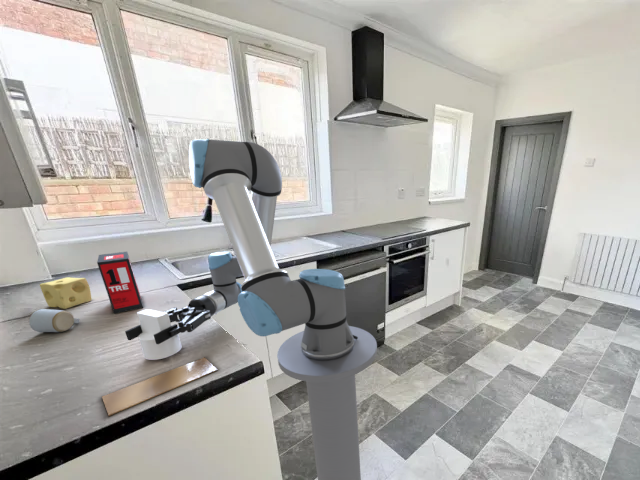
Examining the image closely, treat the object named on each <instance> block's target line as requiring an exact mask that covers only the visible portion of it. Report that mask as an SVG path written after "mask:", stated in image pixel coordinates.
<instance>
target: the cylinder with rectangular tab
mask: <svg viewBox="0 0 640 480" xmlns="http://www.w3.org/2000/svg"><path fill="white" fill-rule="evenodd" d="M136 315H137V316H136V317H137V319H138V322H139V325H141V329H142V332H143V333H141V334H140V335H139V336H138V337H137V338H138V342H139V344H140V348H141V352H142V355H143V358H144V359H146V360H149V361H157V360H161V359H162V360H163V359H165V358H169V357H171V356H173V355H175V354H177V353H178V352H180V351H181V350H182V347H183V346H182V342H181V338H180V335H179V334H180V333H179V334H177V335H175V336H173V337H171V338H169V339H167V340H166V341H164V342H162V343H160V344H156V342H155V338H154V334H156V333H158V332H160V331H162V330H164V329H166V328H168V327H170V326H172V322H170V318H169V315H168V313H165V311H160V310H157V309H156V310H155V309H151V308H146V309H143V310H140V311H137V312H136Z"/></svg>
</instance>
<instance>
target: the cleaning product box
mask: <svg viewBox="0 0 640 480" xmlns="http://www.w3.org/2000/svg"><path fill="white" fill-rule="evenodd" d="M96 263H97V267H98V270H99V273H100V276H101V279H102V282H103V285H104V287H105V291H106V293H107V297H108V299H109V302H110V305H111V309H112V311H113V314H118V313H123V312H128V311H134V310H138V309H142V308H144V305H143V301H142V296H141V293H140V290H139V286H138V282H137V279H136V277H135V273H134V270H133V266H132V263H131V260H130V256H129V253H128V251H121V252H120V251H119V252H112V253H103V254H98V257H97V260H96Z"/></svg>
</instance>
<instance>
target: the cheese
mask: <svg viewBox="0 0 640 480" xmlns="http://www.w3.org/2000/svg"><path fill="white" fill-rule="evenodd" d="M39 287H40V290H41V292H42V295H43V298H44V300H45V302H46V304H47V306H48V308H59V309H62V310H66V309H70V308H72V307H74V306H78V305H82V304H85V303H88V302H92V300H93V299H92V291H91V286H90V284H89V282H88V281H87V279H86V277H69V276H68V277H62V278H59V279H55V280H51V281H48V282H47V281H46V282H43V283H40V284H39Z"/></svg>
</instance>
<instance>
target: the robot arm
mask: <svg viewBox="0 0 640 480" xmlns="http://www.w3.org/2000/svg"><path fill="white" fill-rule="evenodd" d="M188 148H189V149H188V163H189V173H190V178H191V181H192V184H193V187H195V188H197V189H203V191H204V194H205V195H206V196H207V197H208V199H211V200H213V201H214V202H215V205H216V207H217V210H218V213H219V215H220V219H221V221H222V223H223V226H224V228H225V232H226V234H227V236H228V237H227V238H228V239H229V242H230V244H231V247H232V249H233V252H234V255H233V254H232V252H229V251H216V252H212V253H210V254H209V255H208V256H207V261H208V269H209V273H210V276H211V281H212V286H213V290H211V291H210V290H209V291H208V292H206V293H203V294H202V295H200V296H199V295H198V296H197V297H195V298H193V299H191V300H190V301H189V303H188V304H187V306H184V307H182V308H180V309H178V307H177V306H176V307H175V306H174V307H172V308H170V309H168V310H165V311H164V312H165V313H168V315H169V318H170V322H171V323H174V322H175V324H171V326H170V327H168V328H166V329H164V330H162V331H160V332H158V333H156V334H154V338H155V342H156V344H160V343H162V342H164V341H166V340H167V339H169V338H171V337H173V336H175V335H177V334H180V333H181V334H182V333H183V334H184V333H185V332H187V333H192V332H193V331H195V330H196V329H197V328H198V327H200V326H201V325H202V324H204V323H205V322H207V321H209V320H211V319H212V317H213V316H214V315H217V314H218V313H220V312H221V311H223V310H226V309H228V308H229V307H231V306H234V305H236V304H237V305H238V307H239V311H240V315H241V317H242V319H243V321H244V322H245V324H246V325H247V327H248V328H249V330H251V332H252V333H253V334H255V335H256V336H259V337H268V336H271V335H275V334H276V335H278V334H280V333H281V332H283V331H287V330H290V329H293V328H296V327H298V326H301V325H304V329H303V331H304V333H303V337H302V342H301V350H302V353H303V355H304V356H305V357H307V358H309V359H312V360H317V361H329V360H335V359H338V358H341V357H344V356H345V355H347V354H349V353H350V352H351V351H352V350H353V348H354V339H358V337H357V336H354V335H352V333H351V330H350V328H349V326H350V325H349V323H348V319H347V304H346V286H345V285H346V284H345V279H344V276H343V274H342V273H341V272H339V271H336V270H333V269H326V268H310V269H309V268H308V269H303V270H301V271H300V272H299V275H298V279H294V280H293V279H292V280H291V278H290V276H289V273H288V271H286V270H283V269H281V268H280V267H279V265H278V261H277V260H276V256H275V254H274V252H273V250H272V247H271V245H272V239H273V232H274V223H275V215H276V209H277V201H278V197H279V196H280V195H281V194H282V187H283V178H282V173H281V169H280V166H279V164H278V162H277V161H276V159H275V157H274V156H273V155H272V154H271V152H270V151H269V150H268V149H266V148H265V147H264V146H262V145H260V144H258V143H257V142H253V141H237V140H223V139H210V138H205V139H203V138H200V139H198V138H196V139H192V140H191V141H190V143H189V147H188ZM250 192H251V194H250ZM239 277H243V279H244V281H243V282H242V284H241V283H240V282H238V281H237V278H239ZM176 323H177V324H176ZM124 333H125V336H126V338H127V341H132V340H134V339H136V338H138V336H139V335H140V334H141V333H143V332H142V329H141V325H140V324H138V325H136V326H134V327H131V328H129V329H127V330H125V331H124Z"/></svg>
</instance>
